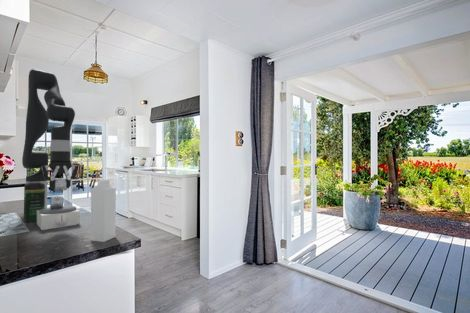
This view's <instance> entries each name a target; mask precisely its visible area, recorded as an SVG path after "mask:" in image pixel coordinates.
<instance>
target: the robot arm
mask: <svg viewBox="0 0 470 313" xmlns="http://www.w3.org/2000/svg"><path fill="white" fill-rule="evenodd" d="M27 82H28V86H27V87H28V91H27V92H28V94H27V95H28V96H27V97H28V100H27V109H26V110H27V111H26V120H25V139H24V145H23V151H22V152H23V153H22V158H21V159H22V161H21V162H22V167H23V168H24V169H38V171H36V172H34V173H32V174H29V175H26V177H25V184H27V183H29V182H33V181H38V182H41V183H44V184H45V208H48V181H49V188H50V189H51V190H53V189H54V179H56V176H57V174H64V176H65V178H67V189H70V187H71V186H72V184H71V183H72V181H71V180H73V179H75V178H77V173H78V169H79V165H77V164H75V165H74V164H72V163H71V155H72V154H71V151H72V148H71V147H72V146H71V129H72V127H73V122H74V120H75V116H76V112H75V110H74V108H72V107H71V106H66V102H65V100H64V98H63V97H62V95H61V91H60V86H59V82H58V79H57V76H56V75H55V74H54V73H53V72H49V71H44V70H40V69H34V68H32V69H30V71H29V72H28V81H27ZM38 90H41V91H42V90H43V91H45V92H44V96H43V100H44V102H45V104H46V108H45V107H44V105H43V103H42V101H41V100H40V96H39V95H38ZM50 121H53V122H61V123H63V125H59V126H53V127H51V131H50V146H49V148H50V149H49V154H48V152H47V151H46V150H33V149H34V146H35V145H36V144H37V142H38V140H39V139H41V137H43V135H45V133H46V132H47V131H48V128H49V122H50ZM49 169H50V170H51V171H52V172H51V174H50V177H49V172H48V171H49ZM70 169H71V170H72V173H71V175H70V172H69V170H70Z"/></svg>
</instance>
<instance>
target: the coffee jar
mask: <svg viewBox="0 0 470 313" xmlns="http://www.w3.org/2000/svg"><path fill="white" fill-rule="evenodd" d="M23 192H24V193H23V221H24V222H25V223H37V210H41V209H44V208H45V184H44V183H41V182H38V181H33V182H29V183H27V184H26V183H25V184H24V188H23Z"/></svg>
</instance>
